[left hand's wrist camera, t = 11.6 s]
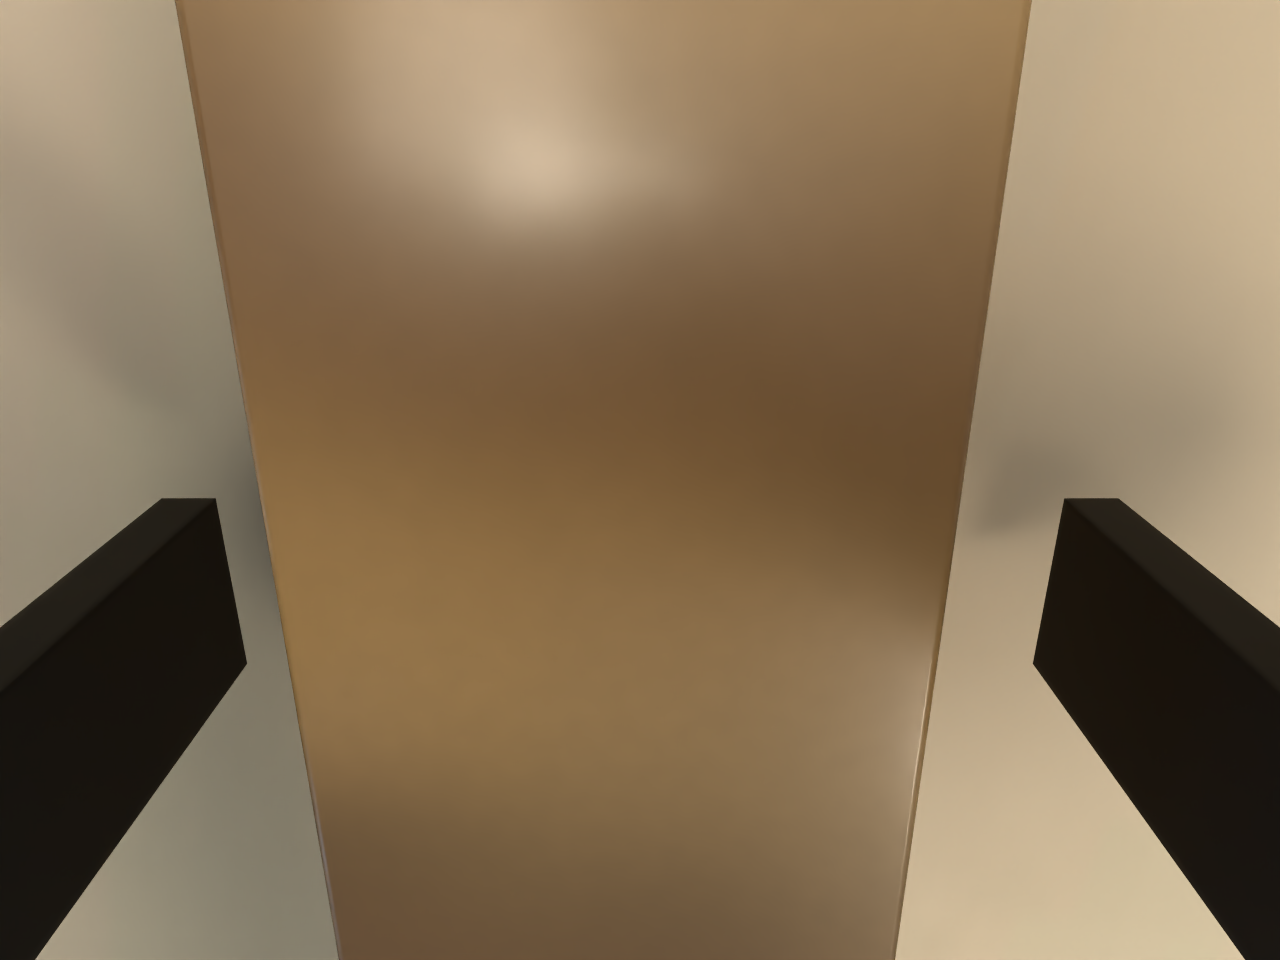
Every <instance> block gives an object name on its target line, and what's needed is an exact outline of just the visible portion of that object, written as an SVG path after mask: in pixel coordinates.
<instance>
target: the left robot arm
mask: <svg viewBox="0 0 1280 960" xmlns="http://www.w3.org/2000/svg"><path fill="white" fill-rule="evenodd" d="M246 665H247V661H246V655H245V650H244V645H243V640H242V634H241V629H240V624H239V619H238V613H237V608H236V603H235V598H234V592H233V587H232V582H231V577H230V571H229V566H228V561H227V556H226V550H225V545H224V540H223V534H222V529H221V524H220V519H219V513H218V508H217V503H216V498H162V499H160V500H159V501H158V502H157V503H155V504H154V505H153V506H152V507H150V508H149V509H148V510H147V511H145V512H144V513H143V514H142V515H140V516H139V517H138V518H137V519H135V520H134V521H133V522H132V523H130V524H129V525H128V526H127V527H125V528H124V529H123V530H122V531H120V532H119V533H118V534H117V535H115V536H114V537H113V538H112V539H110V540H109V541H108V542H107V543H105V544H104V545H103V546H102V547H100V548H99V549H98V550H97V551H95V552H94V553H93V554H92V555H90V556H89V557H88V558H87V559H85V560H84V561H83V562H82V563H80V564H79V565H78V566H77V567H75V568H74V569H73V570H72V571H70V572H69V573H68V574H67V575H65V576H64V577H63V578H62V579H60V580H59V581H58V582H57V583H55V584H54V585H53V586H52V587H50V588H49V589H48V590H47V591H45V592H44V593H43V594H42V595H40V596H39V597H38V598H37V599H35V600H34V601H33V602H32V603H30V604H29V605H28V606H27V607H25V608H24V609H23V610H22V611H20V612H19V613H18V614H17V615H15V616H14V617H13V618H12V619H10V620H9V621H8V622H7V623H5V624H4V625H3V626H2V627H0V960H35V959H36V957H37V956H38V955H39V953H40V952H41V950H42V949H43V948H44V946H45V945H46V943H47V942H48V941H49V939H50V938H51V937H52V935H53V934H54V932H55V931H56V930H57V928H58V927H59V925H60V924H61V923H62V921H63V920H64V918H65V917H66V916H67V914H68V913H69V911H70V910H71V909H72V907H73V906H74V904H75V903H76V902H77V900H78V899H79V897H80V896H81V895H82V893H83V892H84V890H85V889H86V888H87V886H88V885H89V884H90V882H91V881H92V879H93V878H94V877H95V875H96V874H97V872H98V871H99V870H100V868H101V867H102V865H103V864H104V863H105V861H106V860H107V858H108V857H109V856H110V854H111V853H112V851H113V850H114V849H115V847H116V846H117V844H118V843H119V842H120V840H121V839H122V837H123V836H124V835H125V833H126V832H127V831H128V829H129V828H130V826H131V825H132V824H133V822H134V821H135V819H136V818H137V817H138V815H139V814H140V812H141V811H142V810H143V808H144V807H145V805H146V804H147V803H148V801H149V800H150V798H151V797H152V796H153V794H154V793H155V791H156V790H157V789H158V787H159V786H160V784H161V783H162V782H163V780H164V779H165V778H166V776H167V775H168V773H169V772H170V771H171V769H172V768H173V766H174V765H175V764H176V762H177V761H178V759H179V758H180V757H181V755H182V754H183V752H184V751H185V750H186V748H187V747H188V745H189V744H190V743H191V741H192V740H193V738H194V737H195V736H196V734H197V733H198V731H199V730H200V729H201V727H202V726H203V725H204V723H205V722H206V720H207V719H208V718H209V716H210V715H211V713H212V712H213V711H214V709H215V708H216V706H217V705H218V704H219V702H220V701H221V699H222V698H223V697H224V695H225V694H226V692H227V691H228V690H229V688H230V687H231V685H232V684H233V683H234V681H235V680H236V678H237V677H238V676H239V674H240V673H241V672H242V670H243V669H244V667H245V666H246ZM1033 665H1034V666H1035V667H1036V669H1037V670H1038V671H1039V673H1040V674H1041V676H1042V677H1043V678H1044V680H1045V681H1046V683H1047V684H1048V685H1049V687H1050V688H1051V690H1052V691H1053V692H1054V694H1055V695H1056V697H1057V698H1058V699H1059V701H1060V702H1061V704H1062V705H1063V706H1064V708H1065V709H1066V711H1067V712H1068V713H1069V715H1070V716H1071V718H1072V719H1073V720H1074V722H1075V723H1076V724H1077V726H1078V727H1079V729H1080V730H1081V731H1082V733H1083V734H1084V736H1085V737H1086V738H1087V740H1088V741H1089V743H1090V744H1091V745H1092V747H1093V748H1094V750H1095V751H1096V752H1097V754H1098V755H1099V757H1100V758H1101V759H1102V761H1103V762H1104V764H1105V765H1106V766H1107V768H1108V769H1109V771H1110V772H1111V773H1112V775H1113V776H1114V777H1115V779H1116V780H1117V782H1118V783H1119V784H1120V786H1121V787H1122V789H1123V790H1124V791H1125V793H1126V794H1127V796H1128V797H1129V798H1130V800H1131V801H1132V803H1133V804H1134V805H1135V807H1136V808H1137V810H1138V811H1139V812H1140V814H1141V815H1142V817H1143V818H1144V819H1145V821H1146V822H1147V824H1148V825H1149V826H1150V828H1151V829H1152V830H1153V832H1154V833H1155V835H1156V836H1157V837H1158V839H1159V840H1160V842H1161V843H1162V844H1163V846H1164V847H1165V849H1166V850H1167V851H1168V853H1169V854H1170V856H1171V857H1172V858H1173V860H1174V861H1175V863H1176V864H1177V865H1178V867H1179V868H1180V870H1181V871H1182V872H1183V874H1184V875H1185V877H1186V878H1187V879H1188V881H1189V882H1190V883H1191V885H1192V886H1193V888H1194V889H1195V890H1196V892H1197V893H1198V895H1199V896H1200V897H1201V899H1202V900H1203V902H1204V903H1205V904H1206V906H1207V907H1208V909H1209V910H1210V911H1211V913H1212V914H1213V916H1214V917H1215V918H1216V920H1217V921H1218V923H1219V924H1220V925H1221V927H1222V928H1223V930H1224V931H1225V932H1226V934H1227V935H1228V936H1229V938H1230V939H1231V941H1232V942H1233V943H1234V945H1235V946H1236V948H1237V949H1238V950H1239V952H1240V953H1241V955H1242V956H1243V957H1244V959H1245V960H1280V627H1278V626H1277V625H1276V624H1275V623H1273V622H1272V621H1271V620H1270V619H1268V618H1267V617H1266V616H1265V615H1263V614H1262V613H1261V612H1260V611H1258V610H1257V609H1256V608H1255V607H1253V606H1252V605H1251V604H1250V603H1248V602H1247V601H1246V600H1245V599H1243V598H1242V597H1241V596H1240V595H1238V594H1237V593H1236V592H1235V591H1233V590H1232V589H1231V588H1230V587H1228V586H1227V585H1226V584H1225V583H1223V582H1222V581H1221V580H1220V579H1218V578H1217V577H1216V576H1215V575H1213V574H1212V573H1211V572H1210V571H1208V570H1207V569H1206V568H1205V567H1203V566H1202V565H1201V564H1200V563H1198V562H1197V561H1196V560H1195V559H1193V558H1192V557H1191V556H1190V555H1188V554H1187V553H1186V552H1185V551H1183V550H1182V549H1181V548H1180V547H1178V546H1177V545H1176V544H1175V543H1173V542H1172V541H1171V540H1170V539H1168V538H1167V537H1166V536H1165V535H1163V534H1162V533H1161V532H1160V531H1158V530H1157V529H1156V528H1155V527H1153V526H1152V525H1151V524H1150V523H1148V522H1147V521H1146V520H1145V519H1143V518H1142V517H1141V516H1140V515H1138V514H1137V513H1136V512H1135V511H1133V510H1132V509H1131V508H1130V507H1128V506H1127V505H1126V504H1125V503H1123V502H1122V501H1121V500H1120V499H1118V498H1064V503H1063V508H1062V514H1061V519H1060V524H1059V529H1058V535H1057V540H1056V545H1055V550H1054V556H1053V561H1052V566H1051V571H1050V577H1049V582H1048V587H1047V592H1046V598H1045V603H1044V608H1043V613H1042V619H1041V624H1040V629H1039V634H1038V640H1037V645H1036V650H1035V655H1034V661H1033Z"/></svg>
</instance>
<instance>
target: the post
mask: <svg viewBox="0 0 1280 960" xmlns="http://www.w3.org/2000/svg"><path fill="white" fill-rule="evenodd" d="M1031 2H1032V0H175V3H176V9H177V15H178V21H179V27H180V33H181V38H182V44H183V50H184V56H185V62H186V68H187V74H188V79H189V85H190V91H191V97H192V103H193V109H194V114H195V120H196V126H197V132H198V138H199V144H200V150H201V155H202V161H203V167H204V173H205V179H206V185H207V191H208V196H209V202H210V208H211V214H212V220H213V226H214V231H215V237H216V243H217V249H218V255H219V261H220V267H221V272H222V278H223V284H224V290H225V296H226V302H227V307H228V313H229V319H230V325H231V331H232V337H233V343H234V348H235V354H236V360H237V366H238V372H239V378H240V383H241V389H242V395H243V401H244V407H245V413H246V419H247V424H248V430H249V436H250V442H251V448H252V454H253V460H254V465H255V471H256V477H257V483H258V489H259V495H260V500H261V506H262V512H263V518H264V524H265V530H266V536H267V541H268V547H269V553H270V559H271V565H272V571H273V576H274V582H275V588H276V594H277V600H278V606H279V612H280V617H281V623H282V629H283V635H284V641H285V647H286V653H287V658H288V664H289V670H290V676H291V682H292V688H293V693H294V699H295V705H296V711H297V717H298V723H299V729H300V734H301V740H302V746H303V752H304V758H305V764H306V769H307V775H308V781H309V787H310V793H311V799H312V805H313V810H314V816H315V822H316V828H317V834H318V840H319V845H320V851H321V857H322V863H323V869H324V875H325V881H326V886H327V892H328V898H329V904H330V910H331V916H332V922H333V927H334V933H335V939H336V945H337V951H338V957H339V960H895V956H896V948H897V941H898V934H899V927H900V920H901V913H902V906H903V899H904V892H905V885H906V878H907V871H908V864H909V857H910V850H911V843H912V836H913V829H914V822H915V815H916V808H917V801H918V794H919V787H920V780H921V773H922V766H923V759H924V752H925V745H926V738H927V731H928V724H929V717H930V710H931V703H932V696H933V689H934V682H935V675H936V668H937V661H938V654H939V647H940V640H941V633H942V626H943V619H944V612H945V605H946V598H947V591H948V584H949V577H950V570H951V563H952V556H953V549H954V542H955V535H956V528H957V521H958V514H959V507H960V500H961V493H962V486H963V479H964V472H965V465H966V458H967V451H968V444H969V437H970V430H971V423H972V416H973V409H974V402H975V395H976V388H977V381H978V374H979V367H980V360H981V353H982V346H983V339H984V332H985V325H986V318H987V311H988V304H989V297H990V290H991V283H992V276H993V269H994V262H995V255H996V248H997V241H998V234H999V227H1000V220H1001V213H1002V206H1003V199H1004V192H1005V185H1006V178H1007V171H1008V164H1009V157H1010V150H1011V143H1012V136H1013V129H1014V122H1015V115H1016V108H1017V101H1018V94H1019V87H1020V79H1021V72H1022V65H1023V58H1024V51H1025V44H1026V37H1027V30H1028V23H1029V16H1030V9H1031Z"/></svg>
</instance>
